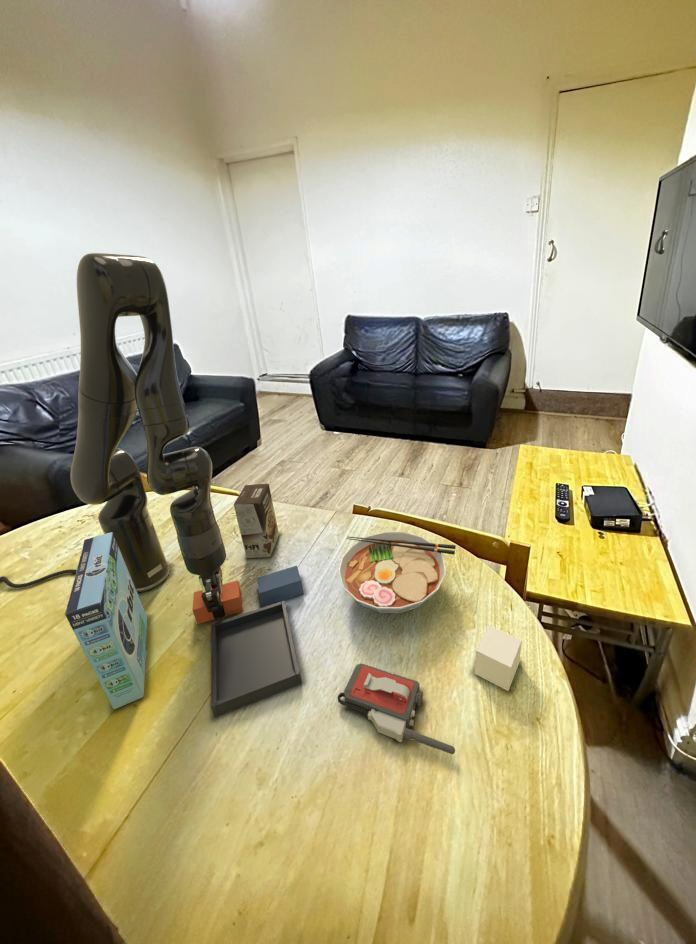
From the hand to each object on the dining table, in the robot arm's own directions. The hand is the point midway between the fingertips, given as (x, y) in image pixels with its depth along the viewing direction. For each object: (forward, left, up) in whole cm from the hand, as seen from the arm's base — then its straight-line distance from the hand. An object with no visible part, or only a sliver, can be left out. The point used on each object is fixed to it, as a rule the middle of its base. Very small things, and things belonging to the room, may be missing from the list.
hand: (220, 606), depth 87 cm
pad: (0, 0, 0) cm, 0 cm away
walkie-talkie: (+27, -34, -2) cm, 43 cm away
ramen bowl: (+36, -10, -2) cm, 37 cm away
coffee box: (+11, +18, -2) cm, 21 cm away
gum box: (-16, -5, -2) cm, 17 cm away
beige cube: (+46, -34, -2) cm, 57 cm away
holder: (+6, -14, -2) cm, 15 cm away
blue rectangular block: (+13, 0, -2) cm, 13 cm away
